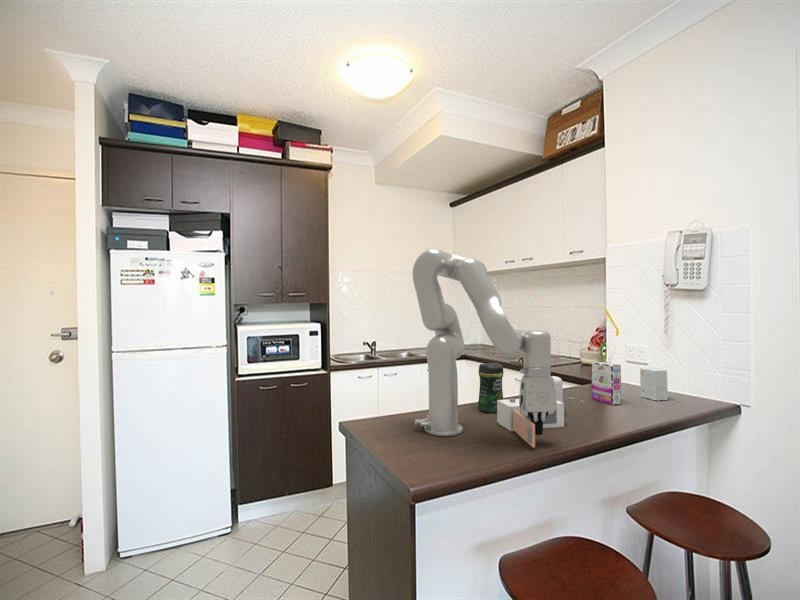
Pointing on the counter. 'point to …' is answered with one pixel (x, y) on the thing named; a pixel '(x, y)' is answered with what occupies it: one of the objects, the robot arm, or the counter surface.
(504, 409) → the white box
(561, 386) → the white rounded block
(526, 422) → the side door
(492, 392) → the coffee jar
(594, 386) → the candy bar box
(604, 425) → the counter surface
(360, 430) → the counter surface
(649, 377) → the small box
